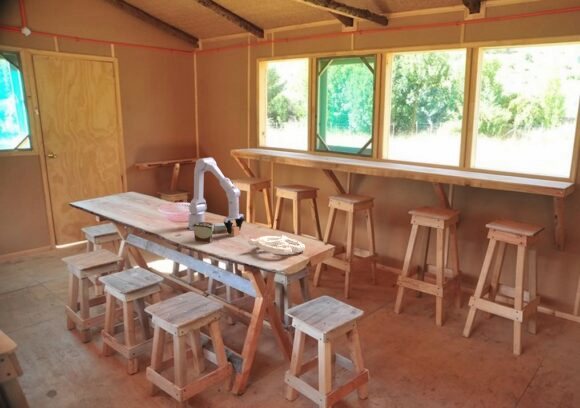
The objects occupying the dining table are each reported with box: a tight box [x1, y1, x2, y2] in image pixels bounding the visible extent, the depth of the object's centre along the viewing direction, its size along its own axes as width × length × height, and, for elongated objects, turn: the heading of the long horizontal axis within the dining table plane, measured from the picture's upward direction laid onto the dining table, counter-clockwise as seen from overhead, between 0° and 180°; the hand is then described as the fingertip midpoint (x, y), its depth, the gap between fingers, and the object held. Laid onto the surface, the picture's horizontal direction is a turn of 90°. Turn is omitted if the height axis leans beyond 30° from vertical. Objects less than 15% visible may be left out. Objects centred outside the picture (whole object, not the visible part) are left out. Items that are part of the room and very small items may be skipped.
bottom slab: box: [212, 228, 229, 235], centre depth 260 cm, size 7×7×2 cm
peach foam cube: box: [228, 225, 240, 238], centre depth 254 cm, size 4×4×5 cm
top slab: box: [213, 222, 227, 230], centre depth 260 cm, size 6×6×2 cm
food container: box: [192, 221, 214, 244], centre depth 242 cm, size 12×6×10 cm, turn 71°
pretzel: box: [247, 235, 306, 256], centre depth 229 cm, size 28×24×6 cm
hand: (234, 231), depth 254 cm, fingers open, 7 cm apart
